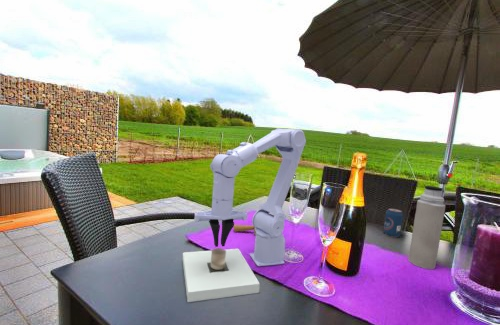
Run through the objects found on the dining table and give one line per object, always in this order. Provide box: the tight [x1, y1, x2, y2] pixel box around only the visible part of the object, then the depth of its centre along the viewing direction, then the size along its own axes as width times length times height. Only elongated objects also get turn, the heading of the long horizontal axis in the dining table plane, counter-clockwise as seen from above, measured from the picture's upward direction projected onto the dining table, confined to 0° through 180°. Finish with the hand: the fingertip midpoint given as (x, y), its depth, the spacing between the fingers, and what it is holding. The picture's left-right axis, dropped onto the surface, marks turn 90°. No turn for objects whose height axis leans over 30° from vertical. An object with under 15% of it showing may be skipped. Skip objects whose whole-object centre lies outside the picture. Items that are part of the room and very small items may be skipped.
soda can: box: [383, 207, 404, 238], centre depth 114 cm, size 7×7×12 cm
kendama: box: [233, 224, 256, 236], centre depth 103 cm, size 8×6×18 cm
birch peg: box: [209, 247, 226, 273], centre depth 70 cm, size 4×4×7 cm
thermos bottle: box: [408, 185, 446, 270], centre depth 87 cm, size 8×8×28 cm
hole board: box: [182, 248, 261, 303], centre depth 70 cm, size 18×20×2 cm
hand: (219, 245), depth 69 cm, fingers closed
